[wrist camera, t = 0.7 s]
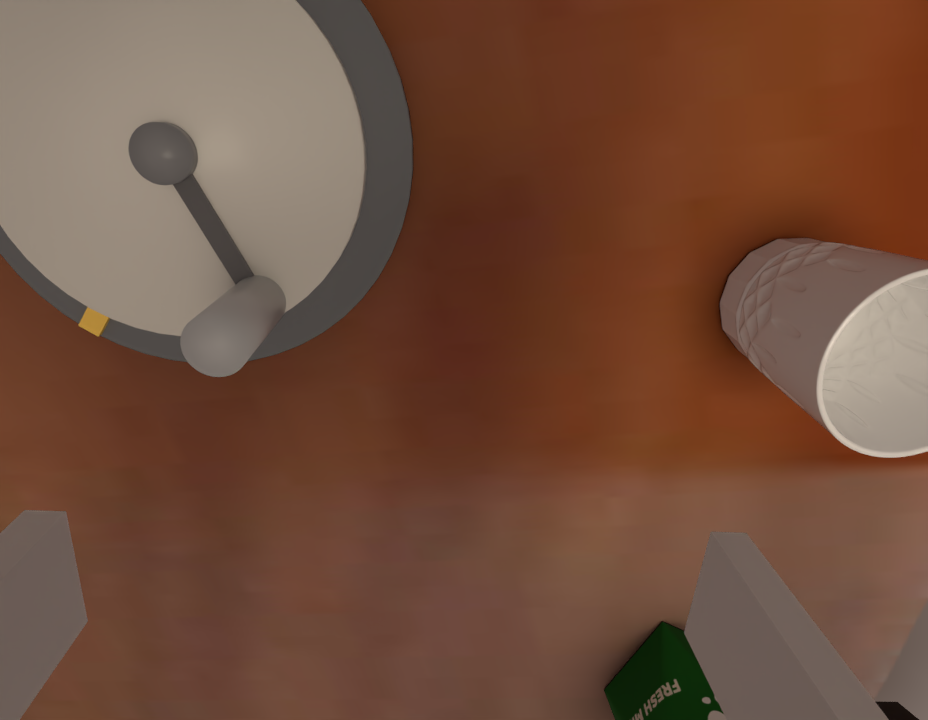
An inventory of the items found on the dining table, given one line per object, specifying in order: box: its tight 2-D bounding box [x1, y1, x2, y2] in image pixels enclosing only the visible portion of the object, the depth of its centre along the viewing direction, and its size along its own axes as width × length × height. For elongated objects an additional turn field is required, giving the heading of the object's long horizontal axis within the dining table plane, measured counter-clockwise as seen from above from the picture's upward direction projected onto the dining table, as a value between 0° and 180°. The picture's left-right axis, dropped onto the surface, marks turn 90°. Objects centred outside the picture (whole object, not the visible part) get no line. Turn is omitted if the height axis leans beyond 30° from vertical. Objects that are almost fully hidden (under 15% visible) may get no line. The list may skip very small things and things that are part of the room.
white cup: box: [720, 238, 928, 458], centre depth 28 cm, size 8×8×10 cm
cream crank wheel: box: [0, 0, 367, 377], centre depth 23 cm, size 16×16×8 cm
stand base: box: [0, 0, 413, 362], centre depth 27 cm, size 20×20×2 cm
